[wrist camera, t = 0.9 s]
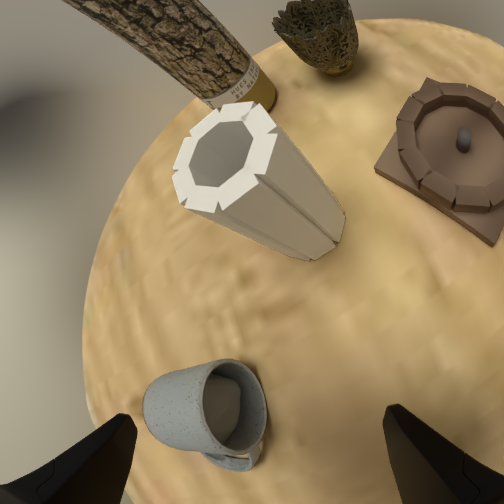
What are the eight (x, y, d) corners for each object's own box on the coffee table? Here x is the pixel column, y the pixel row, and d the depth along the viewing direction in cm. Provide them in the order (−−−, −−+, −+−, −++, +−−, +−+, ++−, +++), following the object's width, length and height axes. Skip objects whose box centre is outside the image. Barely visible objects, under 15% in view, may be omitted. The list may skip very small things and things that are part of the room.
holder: (531, 139, 14) (539, 121, 12) (491, 247, 15) (501, 237, 13) (427, 84, 20) (425, 63, 17) (375, 172, 21) (369, 155, 19)
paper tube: (270, 73, 29) (117, -74, 9) (285, 109, 27) (97, -68, 6) (223, 100, 32) (63, -21, 12) (230, 138, 30) (33, 2, 9)
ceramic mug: (185, 370, 27) (122, 378, 21) (253, 352, 24) (191, 363, 17) (214, 465, 23) (158, 493, 17) (286, 463, 20) (236, 506, 13)
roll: (351, 194, 22) (288, 98, 12) (332, 267, 22) (250, 219, 12) (286, 185, 25) (197, 108, 15) (266, 250, 25) (160, 203, 15)
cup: (300, 93, 27) (262, 41, 20) (310, 49, 27) (278, 0, 21) (371, 90, 23) (347, 27, 16) (372, 44, 23) (350, -13, 17)
